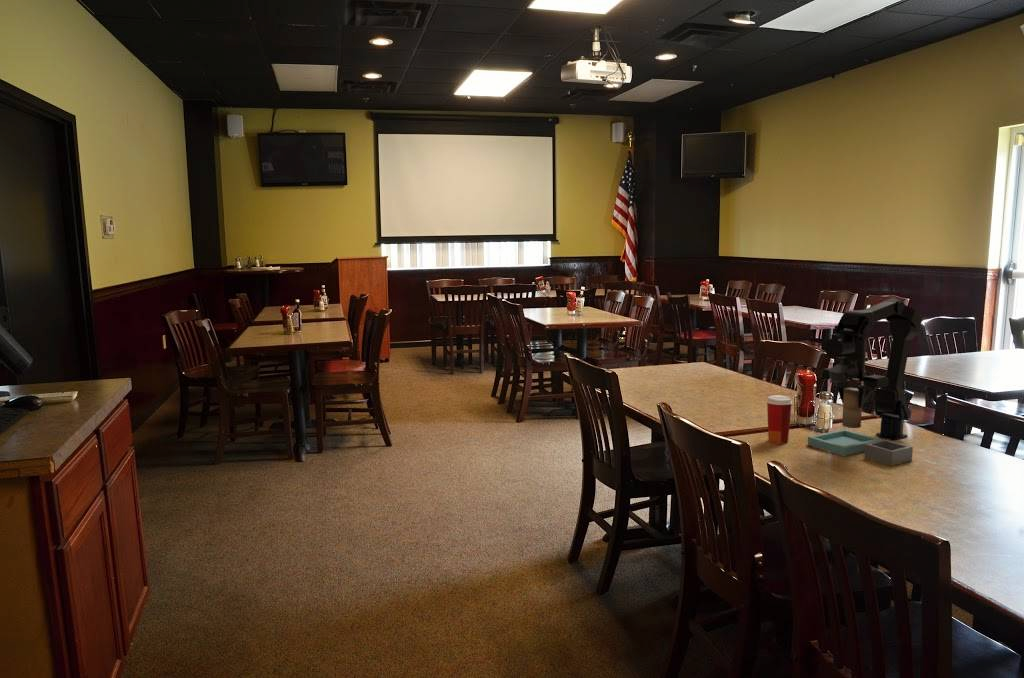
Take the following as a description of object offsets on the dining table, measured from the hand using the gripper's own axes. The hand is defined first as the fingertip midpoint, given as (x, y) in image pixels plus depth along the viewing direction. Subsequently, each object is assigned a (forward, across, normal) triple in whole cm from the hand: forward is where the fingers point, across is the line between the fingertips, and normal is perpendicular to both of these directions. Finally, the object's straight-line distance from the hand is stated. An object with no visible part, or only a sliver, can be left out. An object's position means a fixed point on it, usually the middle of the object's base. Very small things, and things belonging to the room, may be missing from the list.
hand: (852, 406), depth 212 cm
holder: (+13, +12, 0) cm, 18 cm away
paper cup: (+13, -16, -13) cm, 24 cm away
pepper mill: (+6, 0, 0) cm, 6 cm away
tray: (+13, -2, 0) cm, 13 cm away
